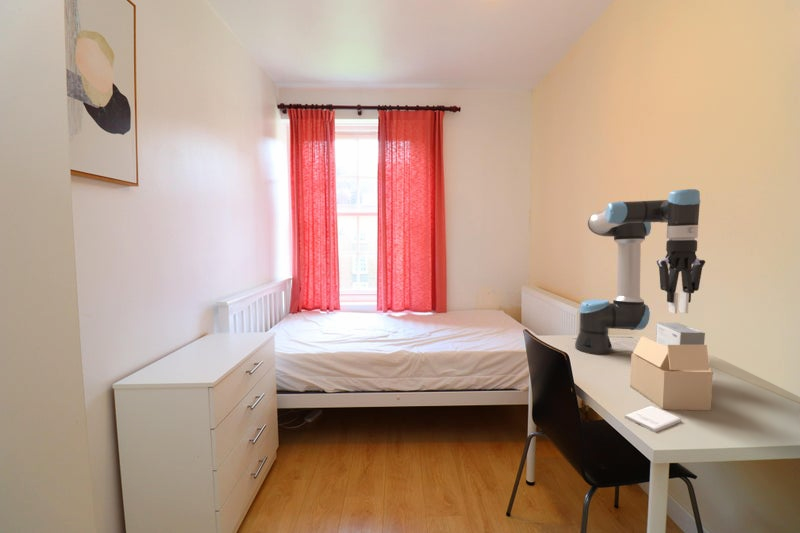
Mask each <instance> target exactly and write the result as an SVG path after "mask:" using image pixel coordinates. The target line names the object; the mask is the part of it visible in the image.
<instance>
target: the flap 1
mask: <svg viewBox="0 0 800 533" xmlns="http://www.w3.org/2000/svg"><path fill="white" fill-rule="evenodd" d="M632 354H636V355H638V356H640V357H642V358H643V359H645V360H647V361H649V362H651V363H653V364H655V365H656V366H658V367H660V368H661V366H662V364H663V363H664V361H665V359H666V357H667V355H668V348H667V347H666V346H663V345H661V344H659V343H657V342H656V341H654V340H652V339H650V338H647V337H645V336H643V335H641V336H640V339H639V340H638V342H637V344H636V346H635V347H634V350H633V352H632Z"/></svg>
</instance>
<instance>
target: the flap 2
mask: <svg viewBox="0 0 800 533" xmlns="http://www.w3.org/2000/svg"><path fill="white" fill-rule="evenodd" d="M667 348H668V357H669V367H670V370H710V369H711V368H710V363H709V354H708V345H707V344H704V345H667ZM709 368H710V369H709Z"/></svg>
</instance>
